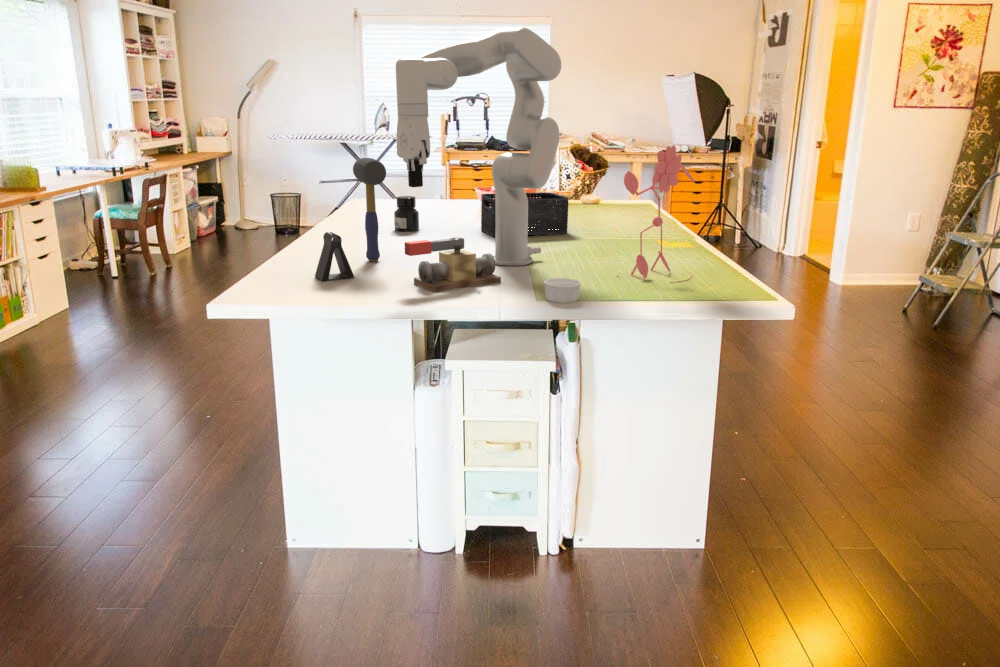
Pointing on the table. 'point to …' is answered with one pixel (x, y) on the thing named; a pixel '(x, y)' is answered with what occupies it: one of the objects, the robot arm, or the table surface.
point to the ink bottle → (406, 214)
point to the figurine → (665, 177)
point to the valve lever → (432, 246)
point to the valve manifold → (457, 271)
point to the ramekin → (562, 290)
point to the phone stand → (326, 260)
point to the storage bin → (532, 213)
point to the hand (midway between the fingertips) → (415, 186)
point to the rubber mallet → (370, 200)
